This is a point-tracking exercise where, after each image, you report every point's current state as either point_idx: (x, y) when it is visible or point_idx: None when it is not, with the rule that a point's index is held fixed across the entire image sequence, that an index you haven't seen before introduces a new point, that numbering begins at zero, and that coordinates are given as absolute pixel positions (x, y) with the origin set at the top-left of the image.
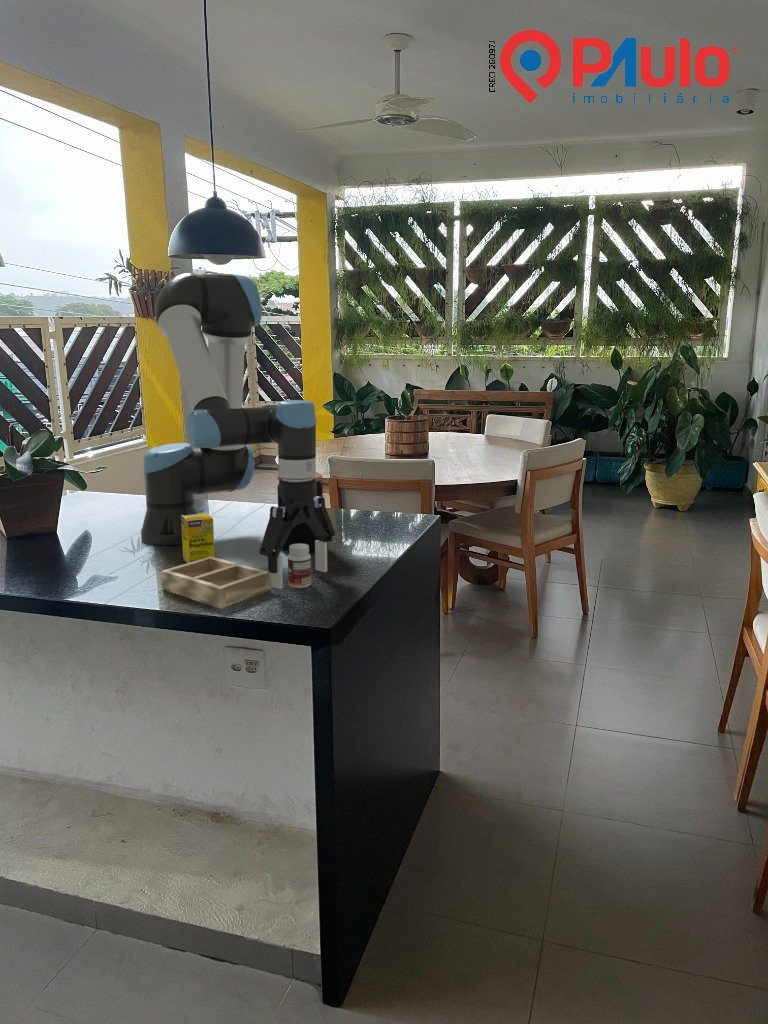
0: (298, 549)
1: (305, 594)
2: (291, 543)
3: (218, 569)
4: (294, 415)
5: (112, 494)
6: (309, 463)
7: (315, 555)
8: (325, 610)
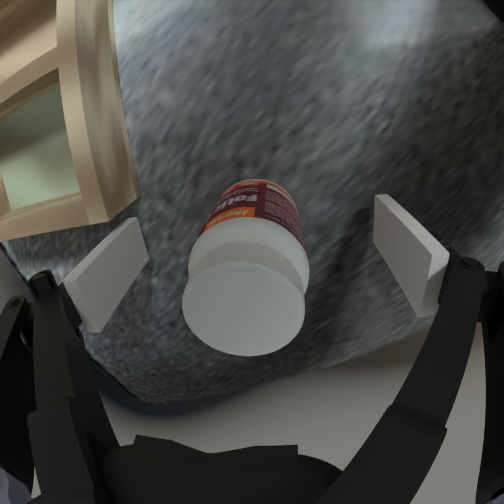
0: (205, 341)
1: None
2: None
3: (8, 80)
4: None
5: None
6: None
7: (397, 220)
8: (184, 375)
